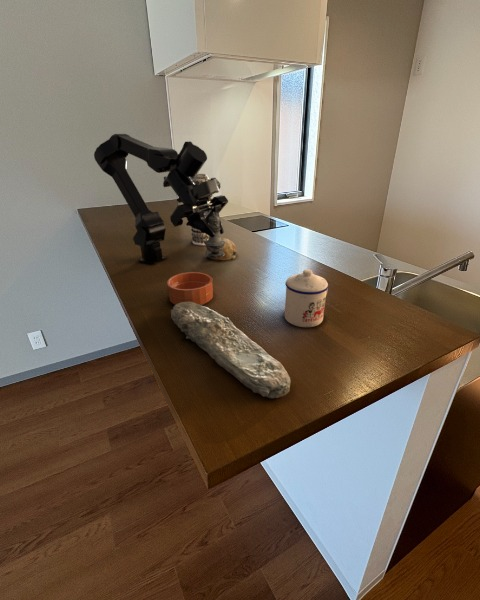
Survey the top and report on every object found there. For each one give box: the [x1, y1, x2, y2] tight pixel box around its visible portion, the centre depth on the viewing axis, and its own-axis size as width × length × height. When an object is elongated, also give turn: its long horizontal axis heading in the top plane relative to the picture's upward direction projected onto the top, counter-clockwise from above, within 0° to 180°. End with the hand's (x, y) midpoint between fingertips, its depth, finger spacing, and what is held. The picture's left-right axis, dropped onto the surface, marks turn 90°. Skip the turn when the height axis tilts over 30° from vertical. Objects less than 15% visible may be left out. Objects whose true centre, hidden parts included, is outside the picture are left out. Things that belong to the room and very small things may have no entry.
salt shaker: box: [204, 212, 226, 259], centre depth 87 cm, size 6×6×12 cm
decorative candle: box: [190, 173, 213, 246], centre depth 120 cm, size 9×9×25 cm
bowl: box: [166, 271, 214, 306], centre depth 81 cm, size 11×11×5 cm
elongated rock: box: [170, 302, 292, 399], centre depth 62 cm, size 35×5×10 cm
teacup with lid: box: [284, 268, 329, 328], centre depth 71 cm, size 12×9×12 cm
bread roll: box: [205, 237, 237, 262], centre depth 109 cm, size 10×10×8 cm
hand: (218, 234), depth 87 cm, fingers closed on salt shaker, 3 cm apart
